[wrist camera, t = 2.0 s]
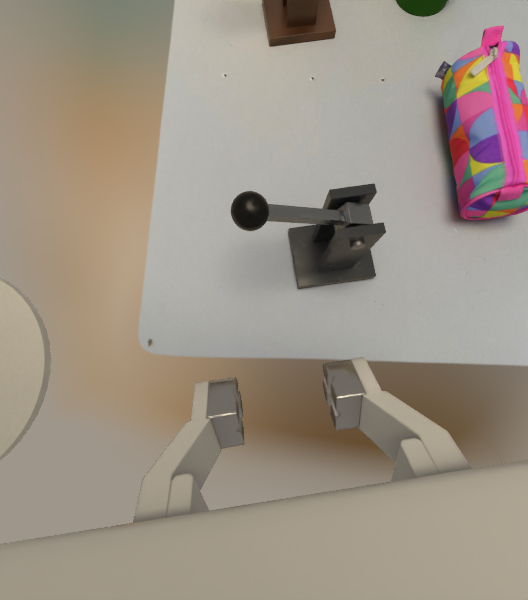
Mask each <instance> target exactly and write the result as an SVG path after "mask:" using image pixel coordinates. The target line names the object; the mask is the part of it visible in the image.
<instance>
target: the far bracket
mask: <svg viewBox="0 0 528 600" xmlns="http://www.w3.org/2000/svg"><path fill="white" fill-rule="evenodd" d="M262 5H263V11H264V16H265V22H266V28H267V33H268V39H269V44H270V46H276V45H284V44H292V43H299V42H307V41H315V40H323V39H330V38H334V37H335V32H336V29H335V24H334V20H333V16H332V11H331V7H330V2H329V0H262Z"/></svg>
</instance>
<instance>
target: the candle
mask: <svg viewBox="0 0 528 600" xmlns="http://www.w3.org/2000/svg"><path fill="white" fill-rule="evenodd" d="M396 1H397V3H398V4H399V6H400V7H401V8H402V9H403V10H405V11H406V12H408V13H410V14H413V15H417V16H430V15H433V14H436V13H438V12H439V11H441V10H442V9H443V8H444V6H445V5H446V3H447V1H448V0H396Z"/></svg>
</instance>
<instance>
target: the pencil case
mask: <svg viewBox="0 0 528 600" xmlns="http://www.w3.org/2000/svg"><path fill="white" fill-rule="evenodd" d="M503 29H504V26H496V27H491V28H488V29H485V30H484V32H483V37H482V43H481V47H480V48H478V49H476V50H474V51H471V52H469V53H467V54H466V55H464V56H463V57H461V58H460V59H458V60H457V61H456V62H455V63H454V64H453V65H452V66H451V65H449V64H448V63H446V62H445V61H444V62H443V63H442V65H441V66H440V68H439V70H438V72H437V73H436V75H435V77H438V78H441V79H442V80H443V81H442V86H441V90H442V95H443V100H444V113H445V119H446V125H447V130H448V140H449V145H450V151H451V156H452V159H453V171H454V176H455V180H456V183H457V196H458V200H459V201H458V210H459V215H460V216H461V217H462V218H464V219H467V220H485V219H493V218H498V217H503V216H510V215H515V214H519V213H522V212H525V211H527V210H528V102H527V97H526V93H525V89H524V85H523V82H522V78H521V75H520V66H519V63H520V50H519V46H518V45H517V43H516V42H513V41H503V42H501V37H502V31H503Z"/></svg>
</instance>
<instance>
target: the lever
mask: <svg viewBox="0 0 528 600" xmlns="http://www.w3.org/2000/svg"><path fill="white" fill-rule="evenodd" d="M231 216H232V219H233V221H234V222H235V224H236V225H237V226H238V227H240V228H241V229H243V230H247V231H254V230H257V229H259V228H261V227H262V226H263V225H264V224H265V223H266V221H275V222H291V223H308V224H324V225H334V227H335V232H336V231H337V229H342V228H349V227H356V226H363V225H370V224H373V220H372V216H371V211H370V207H369V204H363V203H353V202H346V203H345V204H343V205H342V206H341V207H340V208H338V209H337V210H330V209H318V208H307V207H295V206H284V205H273V204H268V203H267V201H266V200H265V198H264V197H263V196H262V195H260V194H259V193H257V192H253V191H247V192H243V193H241V194H239V195H238V196H237V197H236V198H235V199H234V201H233V203H232V206H231Z"/></svg>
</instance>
